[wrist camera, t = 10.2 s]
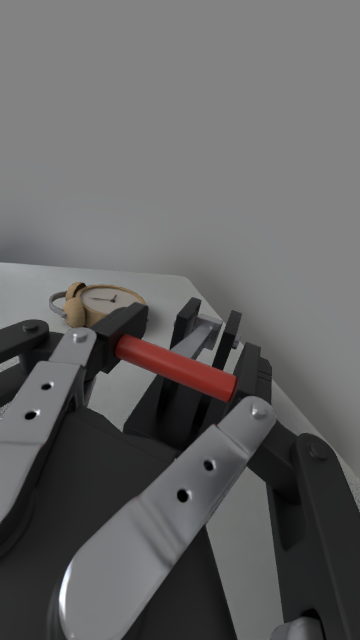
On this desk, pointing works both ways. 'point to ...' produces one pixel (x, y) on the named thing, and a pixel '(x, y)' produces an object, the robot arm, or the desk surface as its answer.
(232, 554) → the desk surface
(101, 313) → the alarm clock
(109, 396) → the desk surface
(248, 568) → the desk surface
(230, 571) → the desk surface
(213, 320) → the lever
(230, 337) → the switch bracket
